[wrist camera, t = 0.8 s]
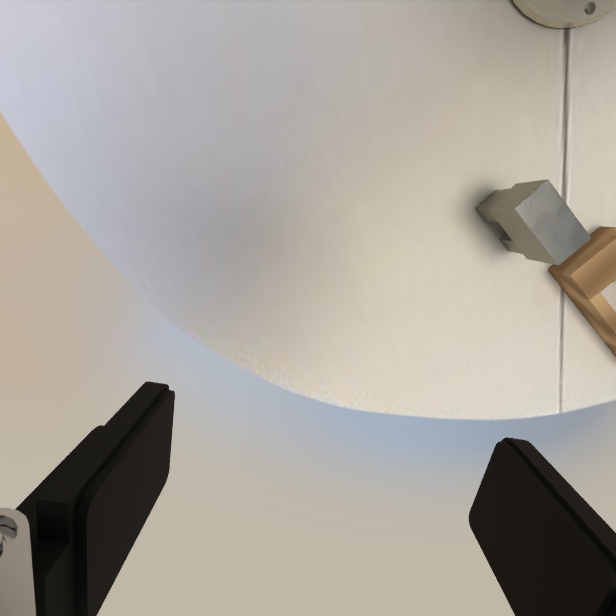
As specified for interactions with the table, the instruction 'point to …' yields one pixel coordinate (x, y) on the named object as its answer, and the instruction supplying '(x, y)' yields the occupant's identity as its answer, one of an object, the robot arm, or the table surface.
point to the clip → (535, 221)
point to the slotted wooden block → (592, 281)
